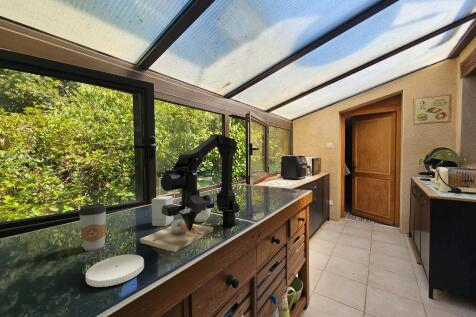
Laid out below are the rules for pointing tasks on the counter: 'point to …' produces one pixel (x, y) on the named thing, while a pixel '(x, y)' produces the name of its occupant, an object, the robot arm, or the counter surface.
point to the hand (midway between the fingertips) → (189, 230)
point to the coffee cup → (93, 226)
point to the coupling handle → (182, 227)
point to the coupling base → (174, 238)
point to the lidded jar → (203, 215)
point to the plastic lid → (114, 270)
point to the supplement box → (157, 215)
